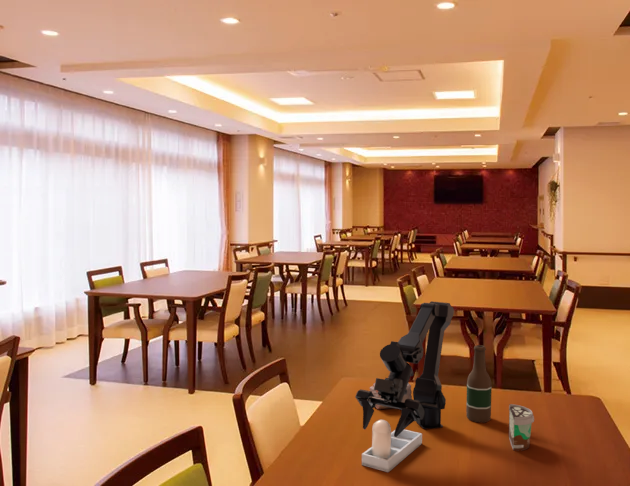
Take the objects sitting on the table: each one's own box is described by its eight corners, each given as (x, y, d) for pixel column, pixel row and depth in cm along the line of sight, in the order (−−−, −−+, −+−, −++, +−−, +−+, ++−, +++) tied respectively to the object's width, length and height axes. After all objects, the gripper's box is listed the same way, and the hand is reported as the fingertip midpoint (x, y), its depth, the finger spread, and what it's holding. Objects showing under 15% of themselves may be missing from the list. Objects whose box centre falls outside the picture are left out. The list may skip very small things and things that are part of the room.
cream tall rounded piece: (382, 454, 159) (383, 415, 159) (394, 461, 155) (394, 421, 154) (368, 458, 157) (368, 418, 156) (379, 465, 152) (380, 424, 152)
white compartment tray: (397, 437, 173) (397, 427, 173) (422, 443, 169) (422, 433, 169) (361, 465, 155) (361, 454, 155) (388, 472, 150) (388, 461, 150)
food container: (537, 454, 162) (538, 419, 161) (513, 452, 163) (514, 417, 162) (529, 437, 174) (530, 404, 173) (508, 435, 175) (509, 403, 174)
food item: (375, 411, 196) (375, 382, 196) (368, 403, 204) (368, 376, 203) (413, 408, 199) (413, 380, 198) (405, 401, 207) (405, 373, 206)
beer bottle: (464, 420, 187) (466, 347, 186) (467, 413, 194) (469, 342, 193) (489, 424, 184) (491, 349, 183) (491, 416, 192) (493, 344, 190)
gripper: (358, 360, 163) (338, 410, 154) (420, 371, 152) (402, 425, 144) (371, 381, 170) (352, 430, 161) (432, 392, 160) (415, 445, 151)
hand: (379, 432), depth 154 cm, fingers open, 9 cm apart
